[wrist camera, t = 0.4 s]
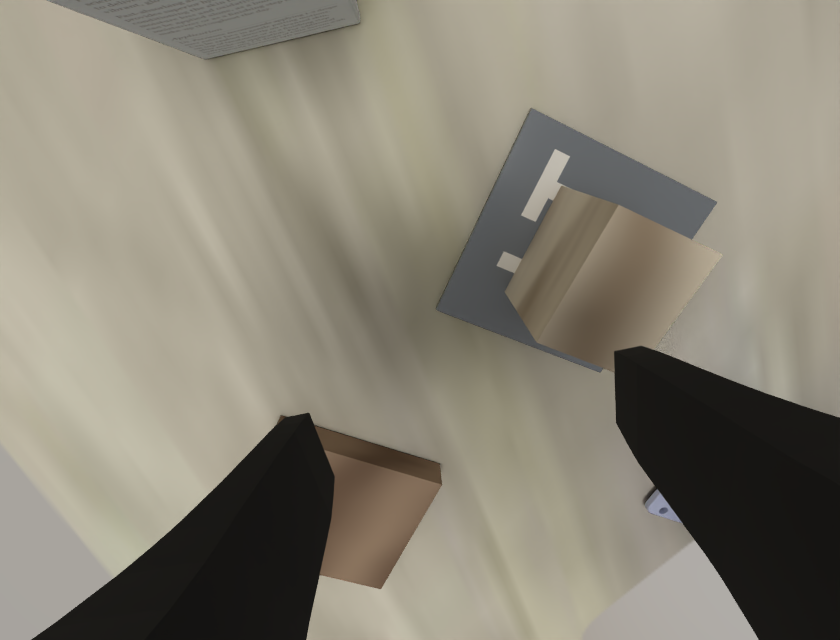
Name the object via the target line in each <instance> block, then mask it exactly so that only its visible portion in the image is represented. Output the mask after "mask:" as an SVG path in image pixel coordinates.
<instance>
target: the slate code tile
mask: <svg viewBox="0 0 840 640" xmlns="http://www.w3.org/2000/svg"><path fill="white" fill-rule="evenodd" d="M561 186H564V187H567V188H570V189H573V190H576V191H579V192H582V193H585V194H588V195H591V196H594V197H597V198H600V199H603V200H606V201H609V202H612V203H615V204H618V205H620V206H622V207H624V208H627V209H629V210H631V211H633V212H635V213H637V214H639V215H641V216H643V217H645V218H648V219H650V220H652V221H654V222H656V223H658V224H660V225H662V226H664V227H666V228H668V229H671V230H673V231H675V232H677V233H679V234H681V235H683V236H685V237H687V238H689V239H691V240H692V238H693V237H694V236H695V234H696V233H697V231H698V230H699V228H700V227H701V225H702V224H703V222H704V221H705V220H706V218H707V217H708V215H709V214H710V212H711V211H712V209H713V208H714V206H715V205H716V204H717V202H716V201H714V200H712V199H710V198H708V197H706V196H704V195H702V194H700V193H698V192H696V191H694V190H692V189H690V188H688V187H687V186H685V185H683V184H681V183H679V182H677V181H675V180H673V179H671V178H669V177H667V176H665V175H663V174H661V173H659V172H657V171H655V170H653V169H651V168H649V167H647V166H645V165H643V164H641V163H639V162H637V161H635V160H633V159H631V158H629V157H627V156H625V155H623V154H621V153H619V152H617V151H615V150H613V149H611V148H609V147H608V146H606V145H604V144H602V143H600V142H598V141H596V140H594V139H592V138H590V137H588V136H586V135H584V134H582V133H580V132H578V131H576V130H574V129H572V128H570V127H568V126H566V125H564V124H562V123H560V122H558V121H556V120H554V119H552V118H550V117H548V116H546V115H544V114H542V113H540V112H538V111H536V110H534V109H532V108H531V109H530V111H529V113H528V115H527V117H526V119H525V121H524V123H523V126H522V128H521V130H520V132H519V134H518V136H517V138H516V140H515V143H514V145H513V147H512V149H511V151H510V153H509V155H508V157H507V159H506V162H505V164H504V166H503V168H502V170H501V172H500V174H499V176H498V178H497V181H496V183H495V185H494V187H493V189H492V191H491V193H490V195H489V197H488V200H487V202H486V204H485V206H484V208H483V210H482V212H481V214H480V216H479V219H478V221H477V223H476V225H475V227H474V229H473V231H472V233H471V235H470V238H469V240H468V242H467V244H466V246H465V248H464V250H463V252H462V254H461V257H460V259H459V261H458V263H457V265H456V267H455V269H454V271H453V274H452V276H451V278H450V280H449V282H448V284H447V286H446V288H445V290H444V293H443V295H442V297H441V299H440V301H439V303H438V305H437V307H436V310H437V311H440V312H442V313H445V314H448V315H450V316H453V317H456V318H458V319H461V320H463V321H466V322H469V323H471V324H474V325H477V326H479V327H482V328H484V329H487V330H490V331H492V332H495V333H498V334H500V335H503V336H505V337H508V338H511V339H513V340H516V341H519V342H521V343H524V344H526V345H529V346H532V347H534V348H537V349H540V350H542V351H545V352H547V353H550V354H553V355H555V356H558V357H561V358H563V359H566V360H568V361H571V362H574V363H576V364H579V365H582V366H584V367H587V368H589V369H592V370H595V371H597V372H601V371H602V369H603V368H602V367H599V366H596V365H594V364H591V363H588V362H586V361H583V360H581V359H578V358H575V357H573V356H570V355H568V354H565V353H562V352H560V351H557V350H555V349H552V348H549V347H547V346H544V345H542V344H539V343H537V342H536V341H535V339H534V338H533V336H532V335H531V333H530V331H529V330H528V328H527V327H526V325H525V323H524V322H523V320H522V319H521V317H520V316H519V314H518V312H517V311H516V309H515V308H514V306H513V304H512V303H511V301H510V300H509V298H508V297H507V295H506V293H505V290H506V288H507V286H508V284H509V282H510V281H511V279H512V277H513V275H514V273H515V271H516V269H517V268H518V266H519V264H520V262H521V260H522V258H523V256H524V254H525V253H526V251H527V249H528V247H529V245H530V243H531V241H532V239H533V238H534V236H535V234H536V232H537V230H538V228H539V226H540V225H541V223H542V221H543V219H544V217H545V215H546V213H547V211H548V210H549V208H550V206H551V204H552V202H553V200H554V198H555V196H556V195H557V193H558V191H559V189H560V187H561Z"/></svg>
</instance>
